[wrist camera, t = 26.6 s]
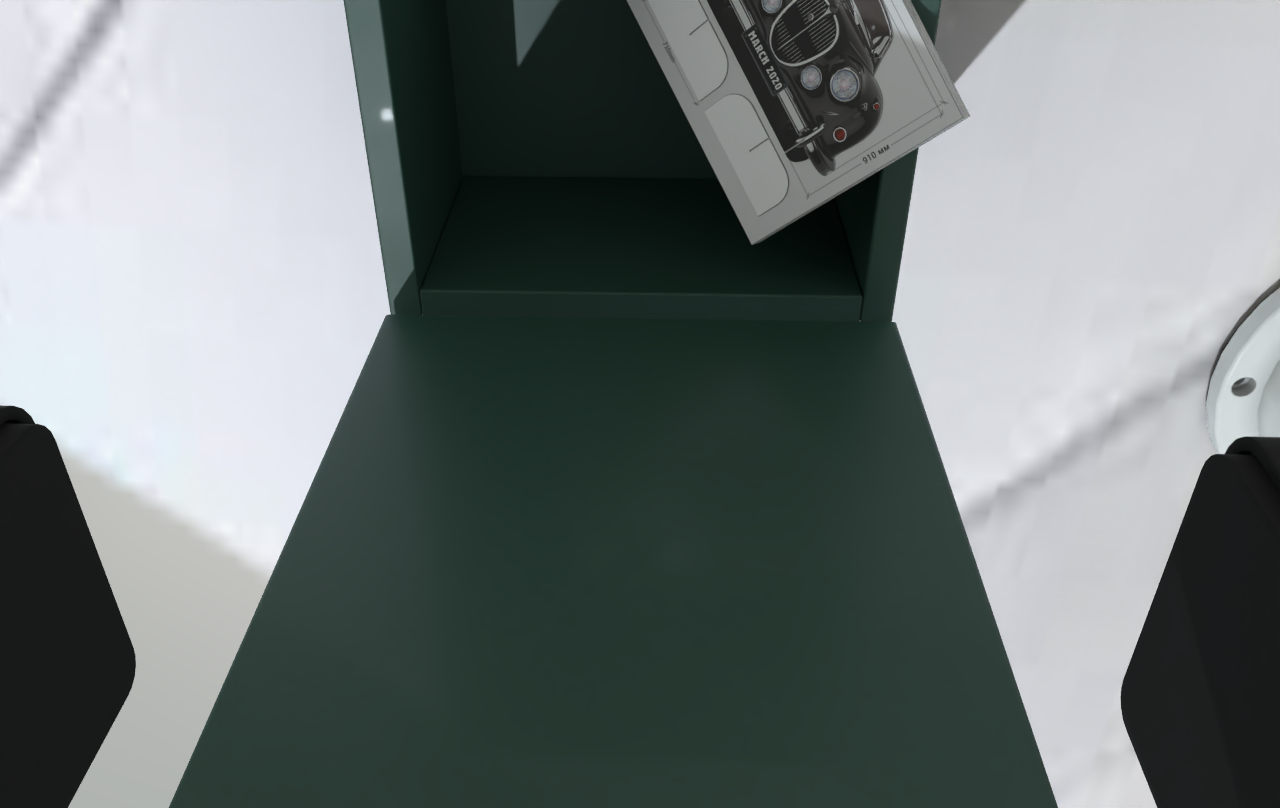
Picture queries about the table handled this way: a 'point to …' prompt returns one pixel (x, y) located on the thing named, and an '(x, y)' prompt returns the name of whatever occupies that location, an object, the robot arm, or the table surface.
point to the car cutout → (799, 94)
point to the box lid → (624, 585)
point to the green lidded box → (584, 178)
